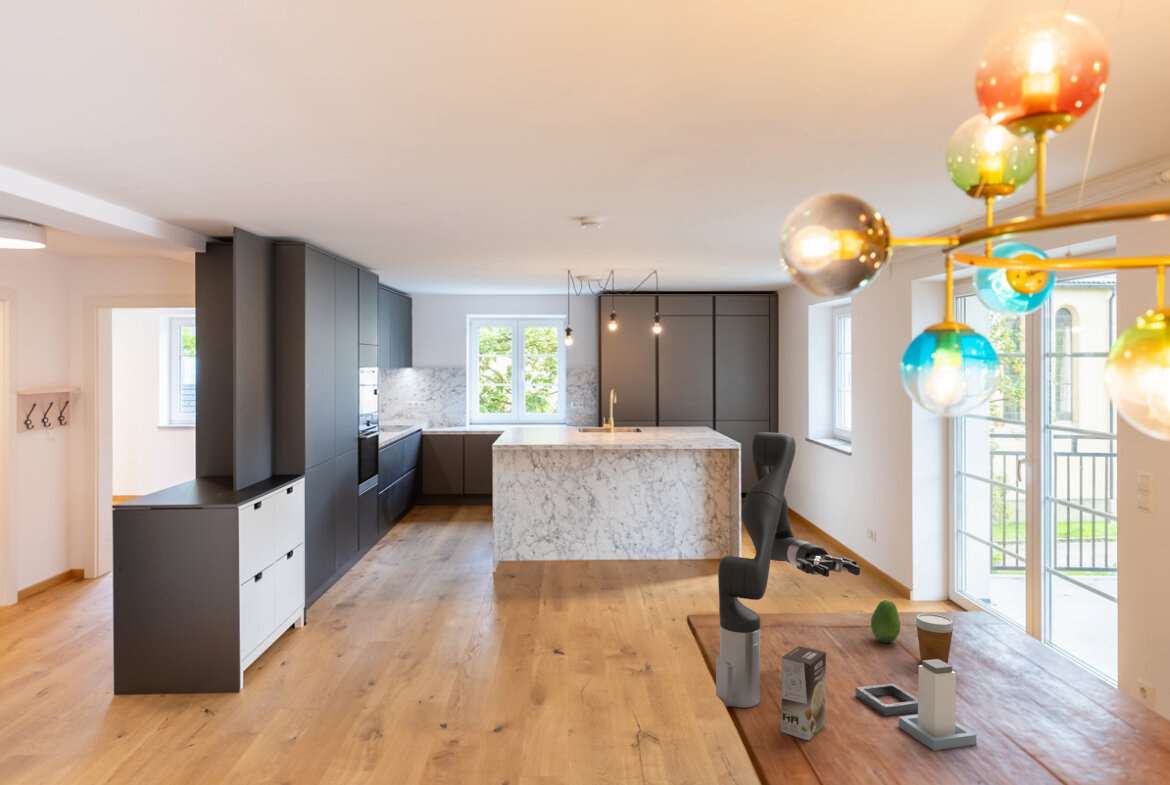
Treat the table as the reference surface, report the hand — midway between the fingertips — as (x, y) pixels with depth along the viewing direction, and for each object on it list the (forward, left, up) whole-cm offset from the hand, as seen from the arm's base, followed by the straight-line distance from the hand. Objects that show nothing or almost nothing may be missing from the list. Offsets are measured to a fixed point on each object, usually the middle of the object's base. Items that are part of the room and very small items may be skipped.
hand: (843, 571), depth 171 cm
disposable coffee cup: (+32, +5, -28) cm, 43 cm away
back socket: (+5, -12, -28) cm, 30 cm away
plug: (+5, -26, -28) cm, 39 cm away
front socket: (+5, -27, -28) cm, 39 cm away
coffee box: (-21, -18, -28) cm, 39 cm away
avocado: (+30, +22, -28) cm, 47 cm away
